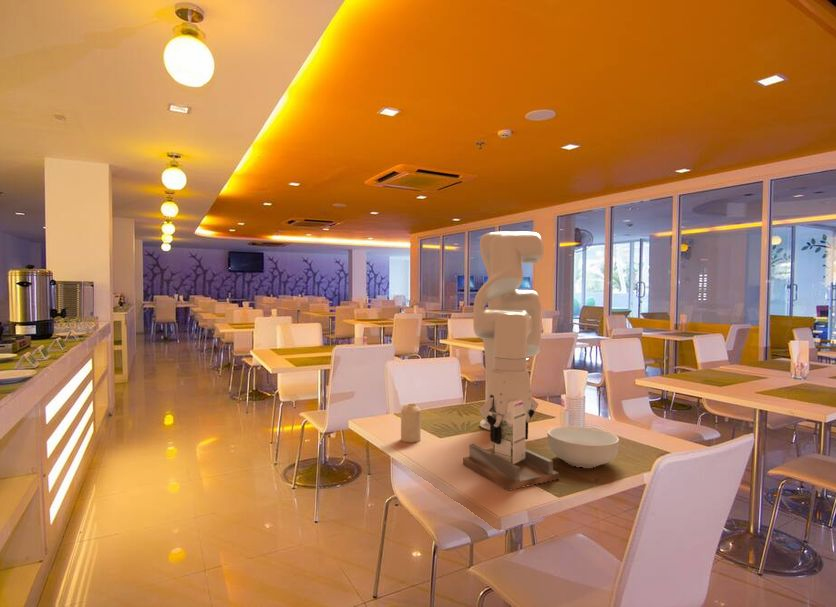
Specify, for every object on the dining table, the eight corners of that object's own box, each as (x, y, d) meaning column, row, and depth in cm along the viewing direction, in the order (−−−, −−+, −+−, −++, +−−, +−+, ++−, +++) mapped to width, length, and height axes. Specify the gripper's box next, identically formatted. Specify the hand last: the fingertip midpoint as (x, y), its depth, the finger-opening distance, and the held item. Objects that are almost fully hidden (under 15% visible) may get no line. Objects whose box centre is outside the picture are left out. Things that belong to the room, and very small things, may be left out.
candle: (418, 443, 138) (418, 407, 137) (398, 442, 139) (399, 406, 138) (422, 437, 143) (422, 403, 143) (403, 436, 144) (403, 402, 144)
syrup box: (526, 458, 117) (527, 397, 117) (512, 465, 113) (513, 401, 112) (505, 453, 121) (506, 393, 121) (491, 459, 117) (492, 397, 116)
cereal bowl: (634, 471, 117) (634, 441, 117) (572, 478, 113) (573, 447, 113) (589, 449, 134) (590, 423, 134) (534, 454, 129) (534, 427, 129)
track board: (509, 455, 128) (509, 438, 128) (558, 479, 112) (559, 459, 112) (463, 463, 122) (463, 445, 122) (508, 490, 106) (508, 469, 106)
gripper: (529, 360, 124) (528, 431, 124) (469, 365, 116) (469, 440, 116) (550, 364, 117) (548, 439, 117) (488, 369, 109) (487, 450, 110)
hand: (509, 439), depth 117 cm, fingers closed on syrup box, 7 cm apart
